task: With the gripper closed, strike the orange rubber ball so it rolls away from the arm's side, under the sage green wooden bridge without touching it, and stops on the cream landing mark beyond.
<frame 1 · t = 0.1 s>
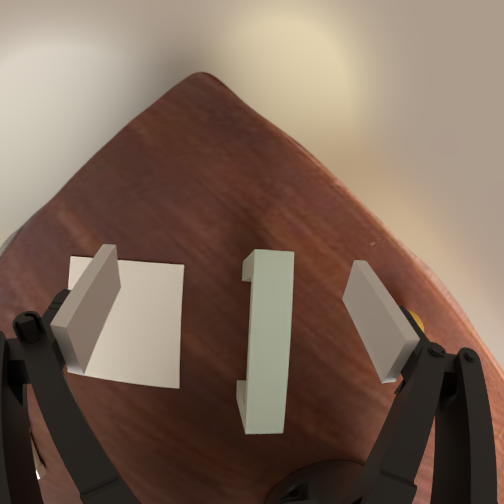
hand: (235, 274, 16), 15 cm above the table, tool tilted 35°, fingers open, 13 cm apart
landing mark: (120, 322, 29), on the table
bridge: (253, 332, 31), on the table
pipe fitting: (22, 441, 25), on the table
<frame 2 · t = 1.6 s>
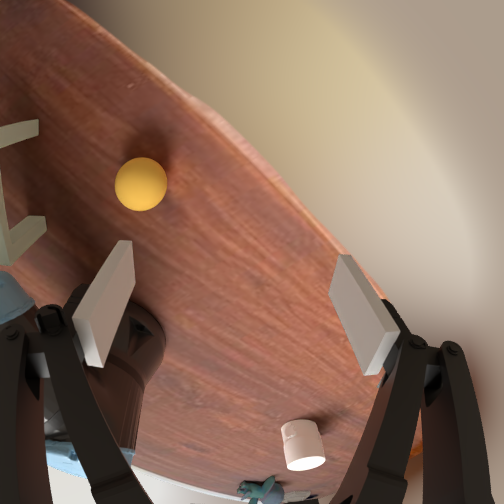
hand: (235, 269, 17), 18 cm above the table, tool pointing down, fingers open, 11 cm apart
bridge: (31, 177, 30), on the table
figurine 3: (293, 494, 89), on the table
figurine 2: (259, 481, 77), on the table
ball: (140, 184, 29), on the table
mug: (302, 429, 60), on the table
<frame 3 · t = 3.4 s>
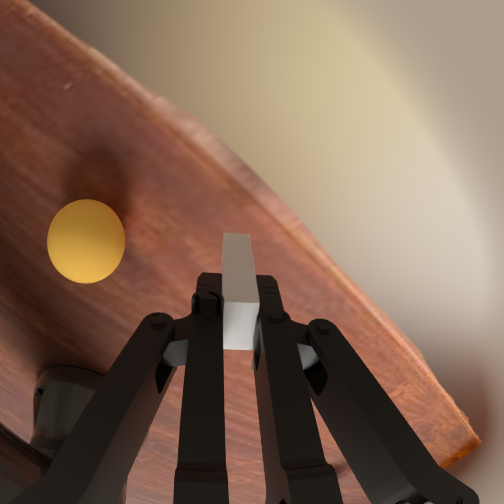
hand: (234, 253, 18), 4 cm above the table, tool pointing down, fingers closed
ball: (85, 241, 18), on the table
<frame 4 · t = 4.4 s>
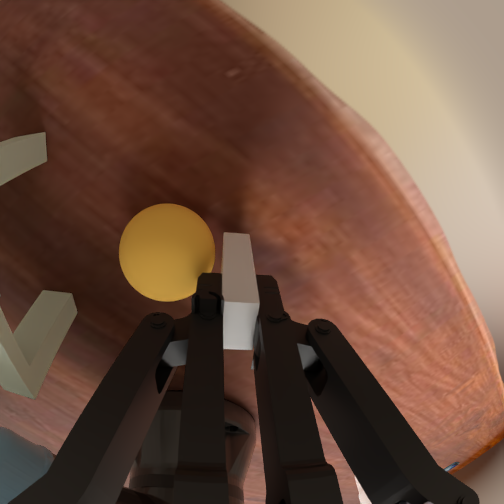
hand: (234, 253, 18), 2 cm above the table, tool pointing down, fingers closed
smartphone: (437, 472, 65), on the table
bridge: (41, 232, 19), on the table
ball: (166, 252, 17), on the table
mug: (374, 471, 48), on the table
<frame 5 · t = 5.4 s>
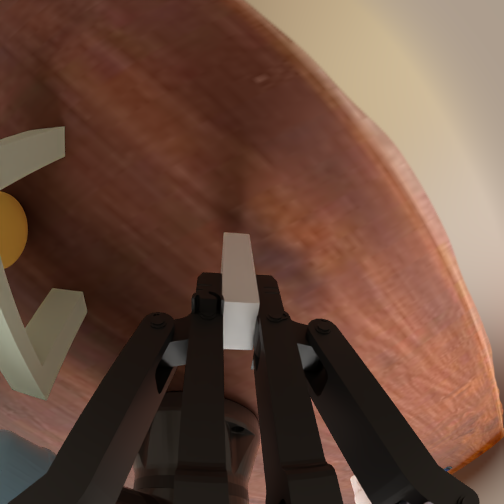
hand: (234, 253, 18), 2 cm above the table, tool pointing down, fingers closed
bridge: (54, 229, 19), on the table
mug: (369, 474, 48), on the table
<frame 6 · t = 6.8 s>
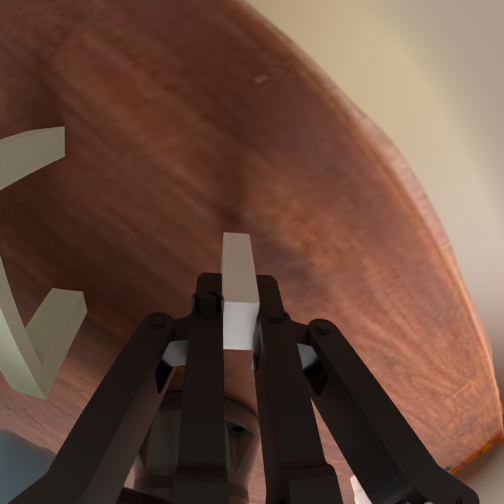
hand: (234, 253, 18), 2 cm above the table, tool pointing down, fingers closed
bridge: (54, 229, 19), on the table
mug: (369, 474, 48), on the table
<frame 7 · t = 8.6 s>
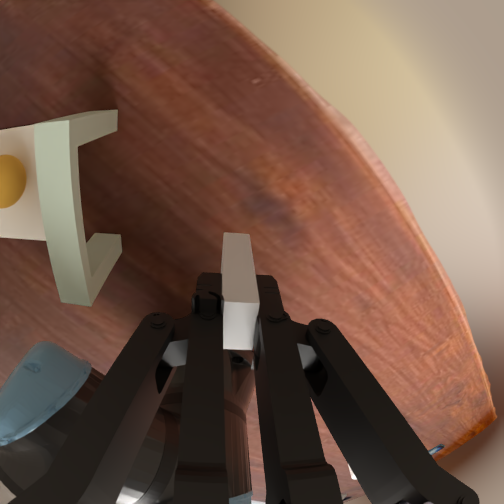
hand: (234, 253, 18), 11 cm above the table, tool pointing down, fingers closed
smartphone: (423, 454, 74), on the table
landing mark: (2, 186, 25), on the table
bridge: (103, 184, 27), on the table
ball: (3, 181, 22), on the table
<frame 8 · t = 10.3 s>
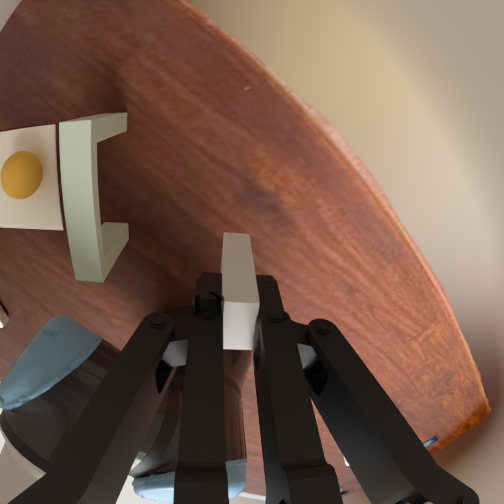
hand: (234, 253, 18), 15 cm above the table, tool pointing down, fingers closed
smartphone: (418, 446, 78), on the table
landing mark: (18, 180, 29), on the table
bridge: (113, 178, 30), on the table
ball: (21, 175, 26), on the table
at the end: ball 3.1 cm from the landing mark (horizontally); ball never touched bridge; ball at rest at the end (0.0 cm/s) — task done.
